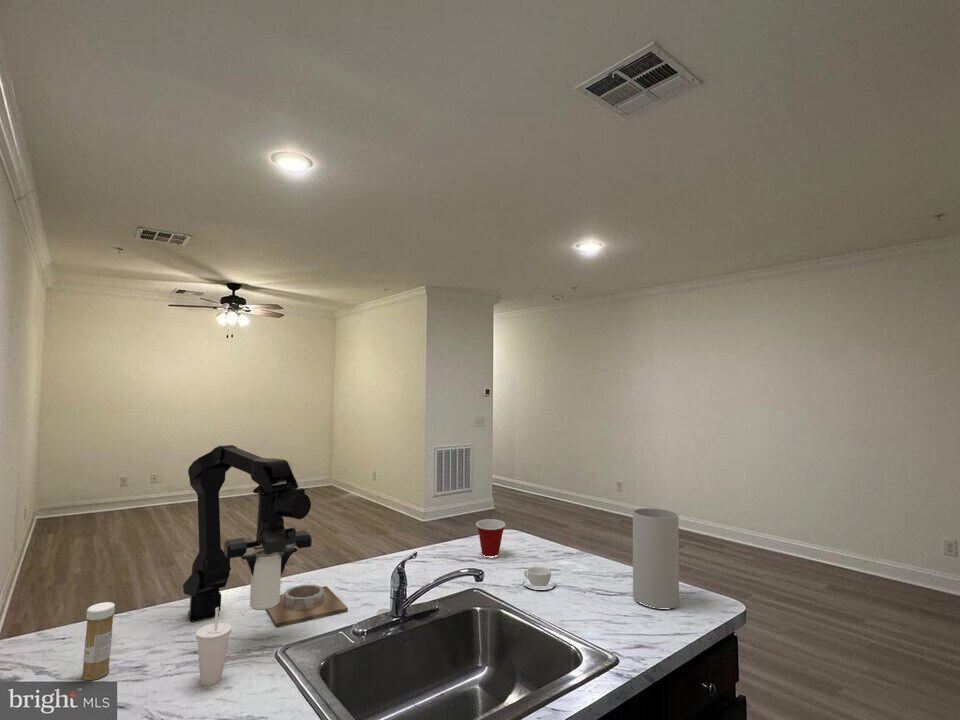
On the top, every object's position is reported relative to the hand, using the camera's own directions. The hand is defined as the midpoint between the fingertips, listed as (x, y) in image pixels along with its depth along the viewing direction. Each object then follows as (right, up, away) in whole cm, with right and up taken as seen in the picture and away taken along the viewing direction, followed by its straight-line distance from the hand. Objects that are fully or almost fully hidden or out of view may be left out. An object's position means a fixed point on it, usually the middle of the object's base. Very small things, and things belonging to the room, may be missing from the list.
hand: (266, 580), depth 119 cm
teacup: (+69, -18, +36) cm, 80 cm away
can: (0, -6, 0) cm, 6 cm away
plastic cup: (+54, -19, +63) cm, 86 cm away
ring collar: (+3, -14, +16) cm, 22 cm away
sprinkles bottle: (-27, -11, -18) cm, 34 cm away
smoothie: (-3, -12, -19) cm, 23 cm away
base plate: (+3, -14, +16) cm, 22 cm away
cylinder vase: (+101, -17, +25) cm, 105 cm away
